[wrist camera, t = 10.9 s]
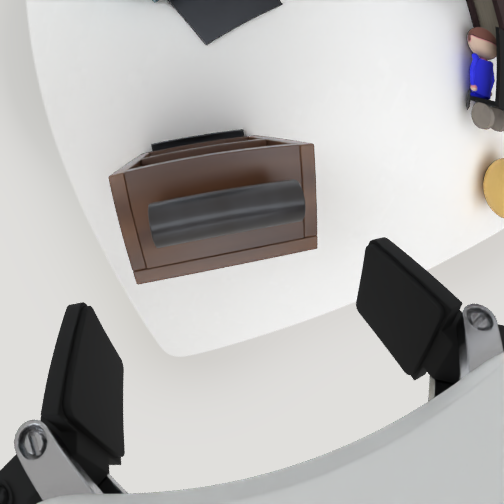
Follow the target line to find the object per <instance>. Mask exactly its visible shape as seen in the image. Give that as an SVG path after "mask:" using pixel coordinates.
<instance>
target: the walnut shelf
mask: <svg viewBox="0 0 504 504" xmlns="http://www.w3.org/2000/svg"><path fill="white" fill-rule="evenodd" d="M109 182H110V186H111V191H112V195H113V200H114V204H115V208H116V212H117V216H118V220H119V224H120V228H121V232H122V236H123V239H124V243H125V246H126V250H127V253H128V257H129V260H130V263H131V266H132V270H133V273H134V276H135V279H136V282H137V284H142V283H148V282H153V281H158V280H163V279H168V278H173V277H178V276H184V275H189V274H194V273H199V272H204V271H209V270H214V269H219V268H224V267H229V266H234V265H239V264H244V263H249V262H254V261H258V260H263V259H268V258H273V257H278V256H283V255H288V254H293V253H297V252H302V251H307V250H312V249H316V248H317V203H316V175H315V155H314V144H312V143H306V142H300V141H293V140H287V139H280V138H272V137H265V136H256V135H252V136H243V137H235V138H227V139H220V140H213V141H207V142H200V143H194V144H188V145H183V146H177V147H172V148H167V149H162V150H157V151H152V152H148V153H143V154H141V155H139V156H138V157H136V158H135V159H133V160H132V161H130V162H129V163H127V164H126V165H124V166H123V167H122V168H120V169H119V170H117V171H116V172H114V173H113V174H112V175H110V176H109Z"/></svg>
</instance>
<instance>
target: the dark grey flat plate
mask: <svg viewBox="0 0 504 504" xmlns="http://www.w3.org/2000/svg"><path fill="white" fill-rule="evenodd" d="M168 1H169V2H170V4H171V5H172V6H173V7H174V8H175V9H176V10H177V11H178V12H179V14H180V15H181V16H182V17H183V18H184V19H185V20H186V22H187V23H188V24H189V25H190V26H191V27H192V29H193V30H194V31H195V32H196V33H197V35H198V36H199V37H200V38H201V39H202V41H203V42H204V43H205V44H206V45H207V44H209V43H210V42H212V41H213V40H215V39H217V38H218V37H220V36H222V35H224V34H225V33H227V32H229V31H231V30H232V29H234V28H236V27H238V26H240V25H241V24H243V23H245V22H247V21H249V20H251V19H253V18H255V17H257V16H259V15H261V14H263V13H265V12H267V11H269V10H271V9H274V8H276V7H278V6H280V5H282V3H281V1H280V0H168Z"/></svg>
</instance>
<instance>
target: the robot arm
mask: <svg viewBox="0 0 504 504" xmlns="http://www.w3.org/2000/svg"><path fill="white" fill-rule="evenodd" d="M461 305H462V302H461V301H460V300H459V299H457V298H456V297H455V296H454V295H453V294H452V293H451V292H450V291H449V290H448V289H447V288H445V287H444V286H443V285H442V284H441V283H440V282H439V281H438V280H437V279H435V278H434V277H433V276H432V275H431V274H430V273H429V272H427V271H426V270H425V269H424V268H423V267H422V266H420V265H419V264H418V263H417V262H416V261H415V260H413V259H412V258H411V257H410V256H409V255H407V254H406V253H405V252H404V251H402V250H401V249H400V248H399V247H397V246H396V245H395V244H394V243H393V242H391V241H390V240H389V239H387V238H385V237H383V238H379V239H375V240H371V241H370V242H369V245H368V246H367V247H366V250H365V256H364V262H363V269H362V275H361V280H360V286H359V291H358V296H357V302H356V306H357V309H358V312H359V313H360V314H361V315H362V317H363V318H364V319H365V321H366V322H367V323H368V324H369V326H370V327H371V328H372V329H373V331H374V332H375V333H376V335H377V336H378V337H379V338H380V340H381V341H382V342H383V344H384V345H385V346H386V348H387V349H388V350H389V351H390V353H391V354H392V355H393V357H394V358H395V360H396V361H397V362H398V364H399V365H400V366H401V368H402V369H403V370H404V372H405V373H407V374H408V375H411V376H412V378H413V379H414V380H416V379H418V378H419V377H421V376H423V375H425V374H426V372H428V374H429V375H430V383H429V398H428V402H427V403H426V404H424V405H422V406H421V407H419V408H417V409H416V410H414V411H413V412H411V413H409V414H408V415H406V416H404V417H402V418H401V419H399V420H397V421H395V422H393V423H391V424H389V425H388V426H386V427H384V428H382V429H380V430H378V431H376V432H374V433H372V434H370V435H368V436H366V437H364V438H362V439H360V440H357V441H355V442H353V443H351V444H348V445H346V446H344V447H341V448H339V449H337V450H334V451H332V452H329V453H327V454H324V455H322V456H319V457H316V458H314V459H311V460H308V461H305V462H302V463H300V464H296V465H293V466H290V467H287V468H284V469H281V470H278V471H274V472H270V473H267V474H263V475H259V476H255V477H251V478H247V479H243V480H238V481H233V482H229V483H224V484H219V485H213V486H207V487H200V488H193V489H186V490H177V491H165V492H153V493H134V494H128V493H127V492H126V491H125V490H124V489H123V488H122V487H121V486H120V485H119V484H118V483H117V482H116V481H115V480H114V478H112V476H111V475H110V474H109V465H121V457H123V456H124V433H123V363H122V360H121V358H120V357H119V355H118V353H117V352H116V350H115V348H114V347H113V345H112V343H111V341H110V340H109V338H108V336H107V334H106V333H105V331H104V329H103V327H102V325H101V324H100V321H99V320H98V318H97V316H96V314H95V312H94V310H93V308H92V307H91V306H87V305H86V304H85V303H77V304H72V305H69V306H68V307H67V309H66V312H65V315H64V318H63V321H62V324H61V328H60V331H59V335H58V338H57V342H56V345H55V349H54V353H53V357H52V361H51V365H50V369H49V374H48V378H47V383H46V389H45V393H44V399H43V405H42V411H41V421H38V420H30V421H27V422H25V423H24V424H22V425H21V426H20V428H19V429H18V431H17V433H16V435H15V440H14V446H15V450H16V455H15V456H14V457H13V458H12V459H11V460H10V461H9V462H8V463H7V464H6V465H5V466H4V468H3V469H2V470H0V504H504V326H503V325H498V324H497V320H496V318H495V316H494V315H493V313H492V312H491V311H490V310H489V309H488V308H486V307H484V306H482V305H479V304H470V305H467V306H466V307H465V308H464V310H463V312H461V311H460V310H459V309H460V307H461Z"/></svg>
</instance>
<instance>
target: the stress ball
mask: <svg viewBox="0 0 504 504" xmlns="http://www.w3.org/2000/svg"><path fill="white" fill-rule="evenodd" d="M483 189H484V195H485V198H486V201H487V203H488V205H489V207H490V208H491V209H492V210H493V211H494V212H495V213H496V214H497V215H498V216H500V217H502V218H504V158H501V159H498V160H496V161H494V162H493V163H492V164H491V165H490V166H489V168H488V169H487V171H486V173H485V176H484V181H483Z"/></svg>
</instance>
